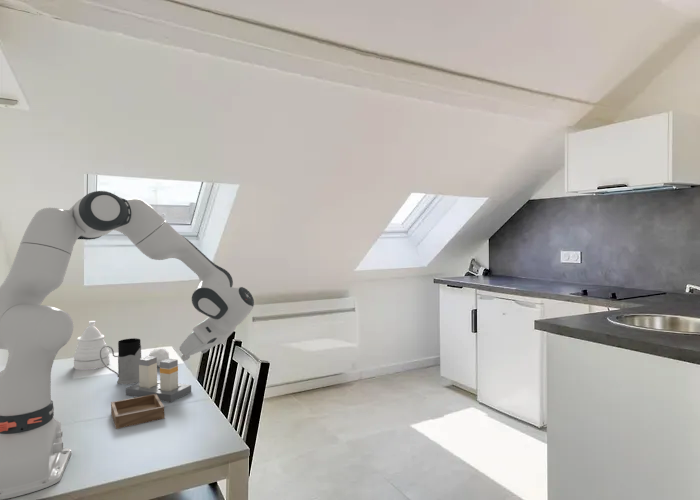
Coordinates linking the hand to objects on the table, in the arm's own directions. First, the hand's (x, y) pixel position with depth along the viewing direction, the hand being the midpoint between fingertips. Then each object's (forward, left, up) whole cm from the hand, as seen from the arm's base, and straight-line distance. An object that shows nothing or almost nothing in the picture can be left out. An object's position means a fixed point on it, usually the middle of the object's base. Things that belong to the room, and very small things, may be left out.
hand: (193, 355), depth 150 cm
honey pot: (+62, +26, -15) cm, 69 cm away
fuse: (+15, +12, -15) cm, 24 cm away
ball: (+45, +3, -15) cm, 48 cm away
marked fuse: (+8, +6, -15) cm, 18 cm away
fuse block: (+12, +9, -15) cm, 21 cm away
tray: (-4, +18, -15) cm, 24 cm away
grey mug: (+33, +18, -15) cm, 40 cm away
